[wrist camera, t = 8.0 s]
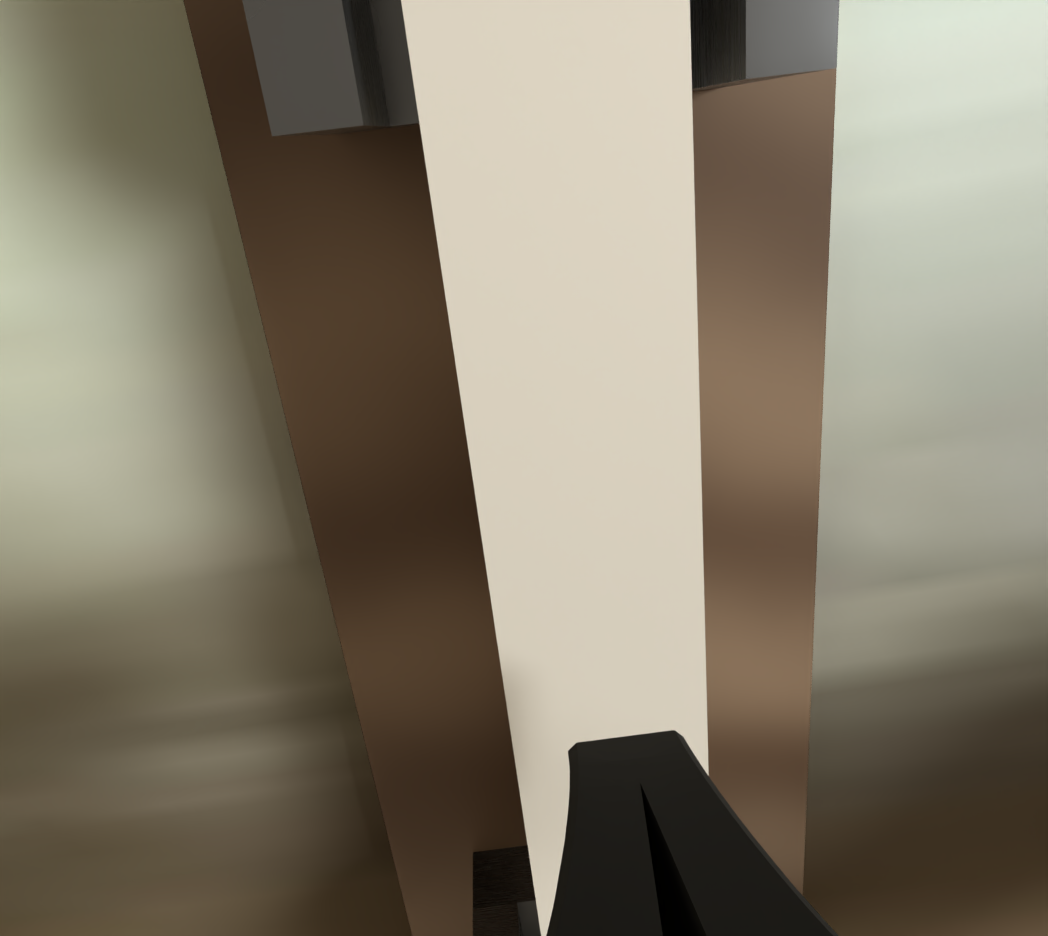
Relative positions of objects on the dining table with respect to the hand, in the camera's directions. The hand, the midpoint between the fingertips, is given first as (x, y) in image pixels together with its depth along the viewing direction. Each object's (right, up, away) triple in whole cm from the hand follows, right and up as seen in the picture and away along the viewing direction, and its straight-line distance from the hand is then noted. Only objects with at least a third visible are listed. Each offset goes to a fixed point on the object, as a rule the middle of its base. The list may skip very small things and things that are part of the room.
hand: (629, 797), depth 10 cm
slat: (0, +2, +5) cm, 5 cm away
